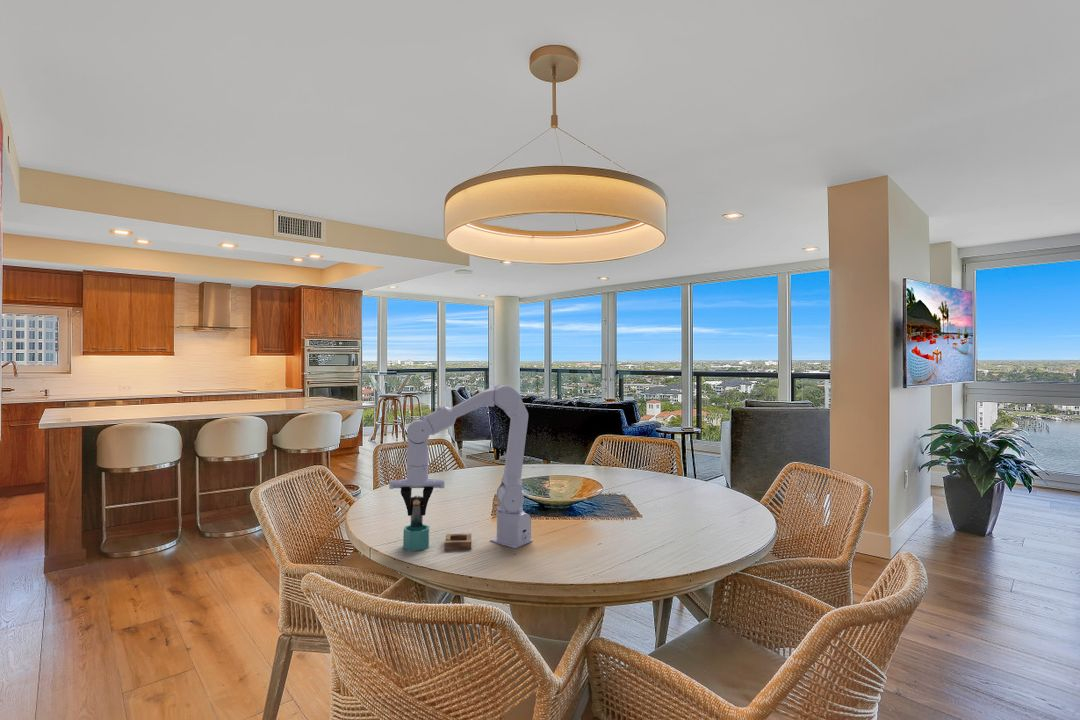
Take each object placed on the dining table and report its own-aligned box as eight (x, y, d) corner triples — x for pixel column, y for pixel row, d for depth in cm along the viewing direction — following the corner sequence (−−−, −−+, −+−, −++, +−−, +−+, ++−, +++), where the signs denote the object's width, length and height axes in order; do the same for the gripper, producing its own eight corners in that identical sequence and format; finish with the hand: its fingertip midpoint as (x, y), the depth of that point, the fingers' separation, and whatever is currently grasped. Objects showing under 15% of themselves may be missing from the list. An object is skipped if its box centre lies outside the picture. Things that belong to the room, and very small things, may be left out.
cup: (433, 545, 146) (434, 527, 146) (414, 552, 141) (414, 533, 141) (418, 540, 150) (418, 522, 150) (398, 546, 145) (399, 528, 145)
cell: (425, 525, 146) (425, 496, 146) (415, 528, 143) (416, 498, 143) (417, 523, 148) (417, 494, 148) (407, 525, 145) (408, 496, 145)
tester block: (471, 540, 151) (471, 532, 151) (471, 549, 144) (471, 541, 144) (446, 541, 150) (446, 533, 150) (444, 549, 143) (445, 541, 143)
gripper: (445, 461, 151) (444, 510, 151) (392, 461, 149) (391, 510, 149) (444, 466, 144) (443, 517, 144) (388, 467, 142) (387, 518, 142)
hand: (416, 514), depth 146 cm, fingers closed on cell, 3 cm apart
